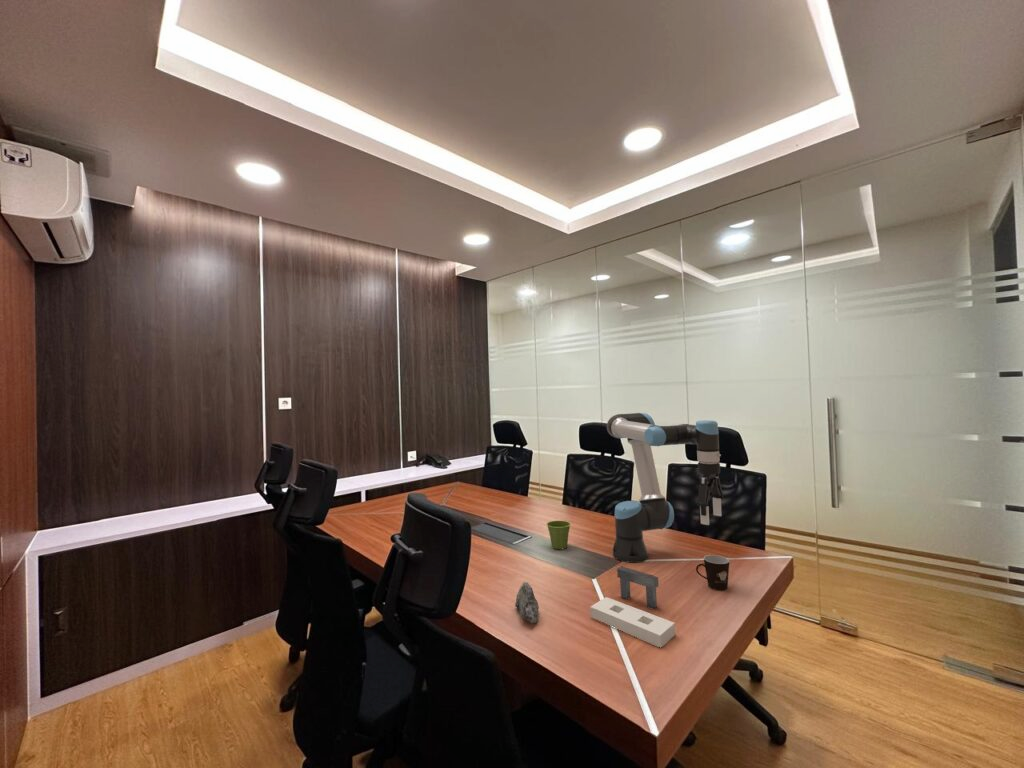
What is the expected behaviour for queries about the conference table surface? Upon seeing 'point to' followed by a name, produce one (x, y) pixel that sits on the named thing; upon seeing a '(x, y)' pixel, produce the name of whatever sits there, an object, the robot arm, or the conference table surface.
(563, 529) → the plant pot
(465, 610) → the conference table surface
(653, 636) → the white slotted block
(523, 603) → the mineral rock
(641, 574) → the dark grey u-shaped bracket
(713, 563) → the coffee mug
